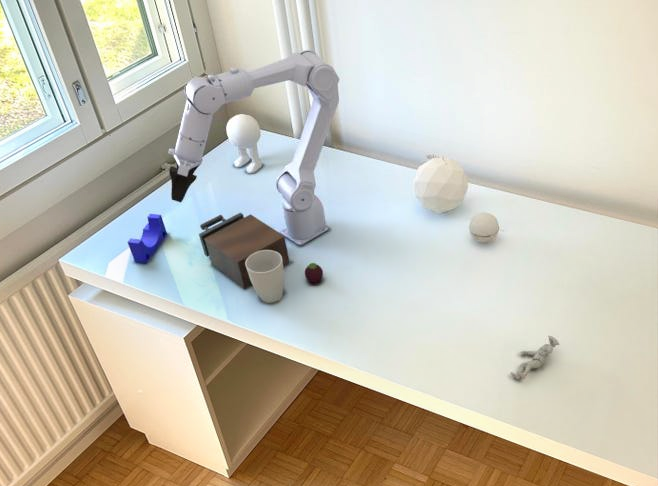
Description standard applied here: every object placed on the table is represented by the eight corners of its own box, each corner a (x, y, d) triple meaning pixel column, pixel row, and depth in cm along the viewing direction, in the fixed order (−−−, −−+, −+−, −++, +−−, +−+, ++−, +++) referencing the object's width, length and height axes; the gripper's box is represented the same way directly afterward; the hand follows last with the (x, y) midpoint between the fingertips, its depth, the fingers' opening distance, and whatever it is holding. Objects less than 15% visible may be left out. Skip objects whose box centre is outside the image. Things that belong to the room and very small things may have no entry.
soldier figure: (502, 374, 151) (532, 329, 154) (518, 388, 152) (547, 344, 156) (522, 372, 144) (553, 325, 147) (538, 387, 145) (569, 341, 149)
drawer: (193, 247, 182) (187, 226, 177) (234, 225, 188) (229, 205, 183) (234, 276, 173) (228, 255, 169) (275, 253, 179) (270, 232, 175)
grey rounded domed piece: (463, 244, 181) (463, 219, 175) (476, 228, 185) (477, 203, 180) (500, 255, 177) (502, 230, 172) (513, 238, 182) (514, 213, 176)
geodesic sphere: (390, 185, 189) (414, 156, 177) (426, 162, 197) (451, 132, 185) (426, 231, 190) (453, 205, 178) (460, 206, 198) (488, 180, 185)
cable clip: (151, 232, 188) (144, 213, 184) (167, 234, 187) (160, 214, 183) (129, 261, 180) (121, 241, 176) (146, 263, 179) (138, 243, 175)
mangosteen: (316, 272, 175) (313, 257, 171) (327, 280, 172) (325, 265, 169) (302, 281, 173) (299, 266, 169) (313, 288, 170) (311, 273, 167)
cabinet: (212, 265, 178) (204, 238, 172) (256, 240, 184) (250, 214, 179) (244, 289, 171) (237, 262, 165) (289, 262, 178) (284, 236, 172)
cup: (295, 288, 171) (288, 253, 164) (279, 310, 165) (271, 275, 158) (263, 281, 173) (256, 247, 166) (247, 303, 167) (238, 268, 160)
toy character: (228, 166, 210) (216, 117, 199) (252, 153, 215) (242, 105, 204) (249, 177, 206) (238, 127, 195) (273, 163, 210) (263, 114, 200)
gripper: (178, 119, 160) (165, 176, 167) (168, 140, 148) (155, 200, 155) (210, 130, 163) (196, 186, 169) (204, 151, 151) (189, 210, 157)
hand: (178, 194), depth 162 cm, fingers open, 7 cm apart
